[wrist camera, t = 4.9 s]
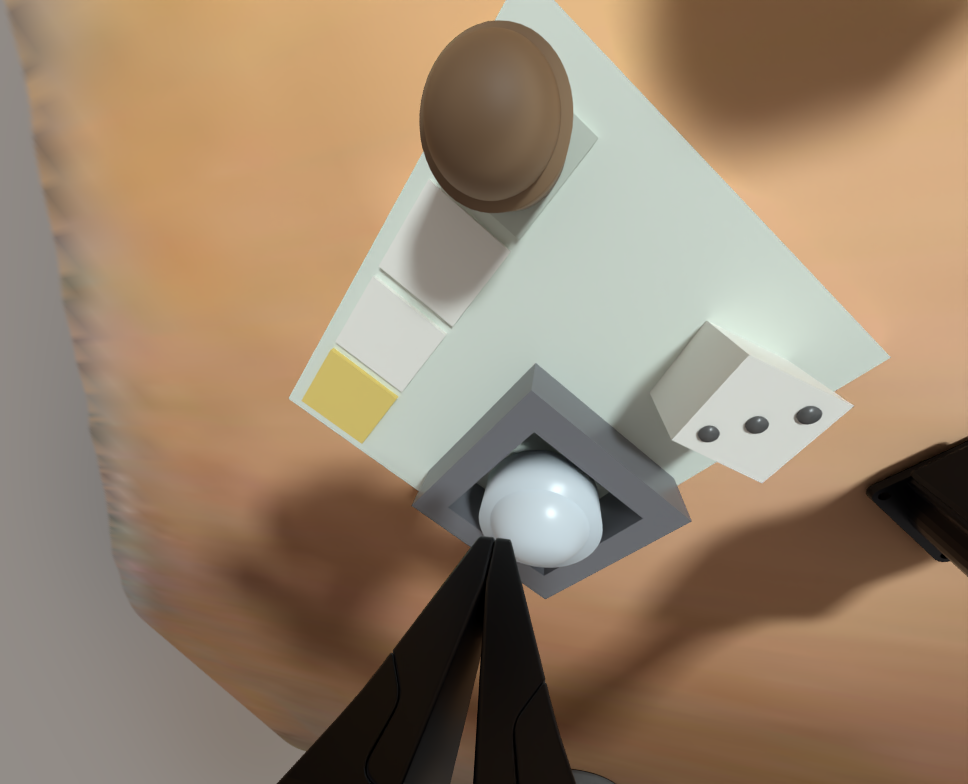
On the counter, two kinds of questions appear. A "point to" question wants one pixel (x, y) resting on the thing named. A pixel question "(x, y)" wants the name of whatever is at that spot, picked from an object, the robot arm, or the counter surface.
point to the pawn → (497, 117)
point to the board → (566, 288)
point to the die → (742, 403)
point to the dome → (542, 508)
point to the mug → (589, 778)
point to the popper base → (580, 438)
